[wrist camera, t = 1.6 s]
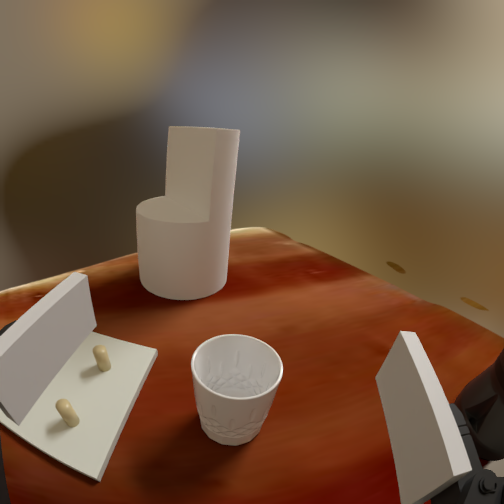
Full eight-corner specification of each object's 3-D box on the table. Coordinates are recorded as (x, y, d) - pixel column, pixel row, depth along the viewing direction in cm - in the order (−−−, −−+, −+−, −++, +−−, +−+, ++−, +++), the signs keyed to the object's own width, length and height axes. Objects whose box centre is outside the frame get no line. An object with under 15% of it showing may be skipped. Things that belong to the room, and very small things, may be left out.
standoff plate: (100, 481, 17) (85, 468, 15) (-22, 404, 18) (-37, 383, 16) (157, 354, 35) (154, 332, 33) (48, 320, 36) (42, 300, 34)
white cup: (265, 397, 31) (279, 337, 27) (267, 452, 24) (286, 401, 20) (199, 391, 31) (198, 329, 27) (190, 446, 23) (183, 393, 19)
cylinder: (199, 250, 66) (207, 127, 55) (244, 284, 55) (262, 132, 43) (128, 265, 56) (126, 126, 44) (160, 310, 44) (160, 126, 32)
